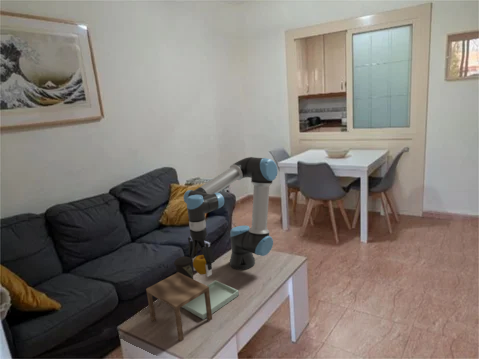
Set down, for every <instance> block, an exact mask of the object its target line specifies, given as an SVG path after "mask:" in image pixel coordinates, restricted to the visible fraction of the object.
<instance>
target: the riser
mask: <svg viewBox="0 0 479 359" xmlns="http://www.w3.org/2000/svg"><path fill="white" fill-rule="evenodd" d="M145 290H146V295H147V296H146V297H147V301H148V302H147V303H148V308H149V309H148V310H149V316H150V321H151V322H152V323H154V322H155V321H157V318H156V311H155V304H154V298H156V299H158V300H159V301H161V302H163V303H165V304H166V305H168V306H170V307H171V308H173V310H174V317H175V323H176V324H175V326H176V332H177V339H178V341H179V342H182V341H183V340H184V339H185V338H184V330H183V323H182V316H181V315H182V314H181V308H183V307H182V306H184V305H185V304H187V303H189V302H190V301H192V300H193V299H195V298H197V297H198V296H200V295H201V294H203V293H204V294H205V304H206V313H207V318H206V319H207V320H208V321H209V322H210V321H211V320H213V313H212V312H211V303H210V293H209V287H208V286H207V285H206V284H204V283H201V282H200V281H197V280H196V279H194V278H193V279H192V278H189V277H187V276H185V275H183V274H181V273H179V272H176V273H174V274H172V275H169V276H168V277H166V278H164V279H163V280H160V281H159V282H156V283H155V284H153V285H150V286H148V287H147V288H146V289H145ZM153 297H154V298H153Z"/></svg>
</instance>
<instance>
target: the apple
mask: <svg viewBox="0 0 479 359" xmlns="http://www.w3.org/2000/svg"><path fill="white" fill-rule="evenodd" d="M208 261H209V260H208ZM205 264H206V260H205V258H204V255H203V254H199V255H197V257H195V259H194V260H193V262H192V268H193V267H194V268H195V270H196V272H197V273H198V274H199V275H201V276H202V275H207V274H206V265H205ZM194 268H193V269H194Z"/></svg>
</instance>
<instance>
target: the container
mask: <svg viewBox="0 0 479 359" xmlns="http://www.w3.org/2000/svg"><path fill="white" fill-rule="evenodd" d="M173 264H174V266H175V270H176V271H175V272H176V273H177V272H179V273H181V274H183V275H185V276H187V277H189V278H192V279H194V273H193V262H192V258H191V256H180V257H179V256H178V258H176V259H175V260H174V262H173Z"/></svg>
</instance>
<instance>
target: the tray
mask: <svg viewBox="0 0 479 359" xmlns="http://www.w3.org/2000/svg"><path fill="white" fill-rule="evenodd" d="M206 286H208V287H209V293H210V303H211V312H212V314H214V313H215V312H216V311H218V310H220V309H221V308H223V307H224V306H225V305H227V304H228V303H230V302H231V301H233V300H234V299H236V298H237V297H238V296H240V294H239V293H240V292H239V290H238V289H236V288H234V287H231V286H230V285H227V284H225V283H223V282H221V281H218V280H213V281H212V282H210V283H209V284H207V285H206ZM181 308H183V309H184V310H186V311H188V312H189V313H191V314H193V315H195V316H197V317H198V318H200V319H202V320H205V319H207V313H206V304H205V294H204V293H203V294H201V295H200V296H198V297H197V298H195V299H193V300H192V301H190V302H189V303H187V304H185V305H184V306H182V307H181Z"/></svg>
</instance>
